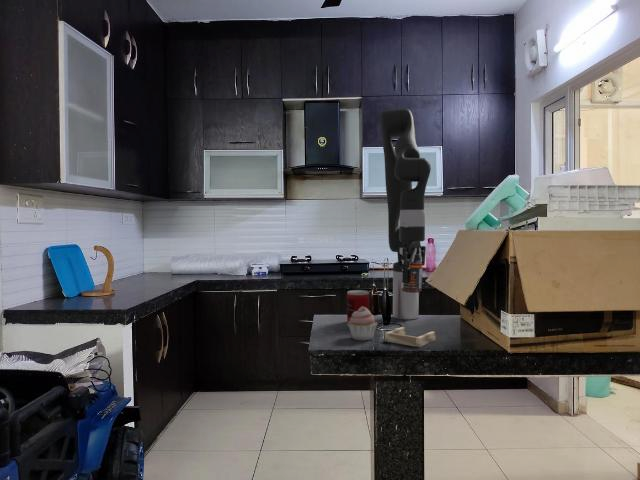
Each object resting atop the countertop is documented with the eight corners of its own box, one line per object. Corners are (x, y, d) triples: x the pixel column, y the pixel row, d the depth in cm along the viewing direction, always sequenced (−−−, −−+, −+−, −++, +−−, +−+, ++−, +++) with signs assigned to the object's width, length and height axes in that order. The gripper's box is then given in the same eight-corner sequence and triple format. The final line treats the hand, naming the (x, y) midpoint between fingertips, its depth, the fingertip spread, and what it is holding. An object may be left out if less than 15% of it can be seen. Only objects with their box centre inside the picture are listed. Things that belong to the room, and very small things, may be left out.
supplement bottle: (400, 292, 149) (400, 254, 148) (403, 289, 154) (403, 253, 154) (420, 293, 147) (420, 254, 146) (423, 290, 152) (423, 253, 152)
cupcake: (342, 340, 151) (342, 307, 151) (353, 334, 160) (353, 302, 159) (372, 343, 148) (372, 309, 147) (381, 336, 156) (381, 304, 156)
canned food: (372, 321, 179) (372, 290, 178) (363, 325, 172) (362, 293, 171) (353, 319, 183) (353, 289, 182) (343, 323, 176) (343, 292, 175)
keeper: (401, 334, 158) (401, 327, 158) (435, 340, 151) (435, 331, 151) (385, 341, 150) (385, 332, 150) (419, 347, 143) (419, 338, 143)
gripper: (411, 225, 158) (411, 278, 158) (388, 225, 146) (388, 282, 147) (434, 225, 153) (433, 280, 154) (412, 225, 142) (411, 284, 143)
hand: (411, 281), depth 150 cm, fingers closed on supplement bottle, 6 cm apart
